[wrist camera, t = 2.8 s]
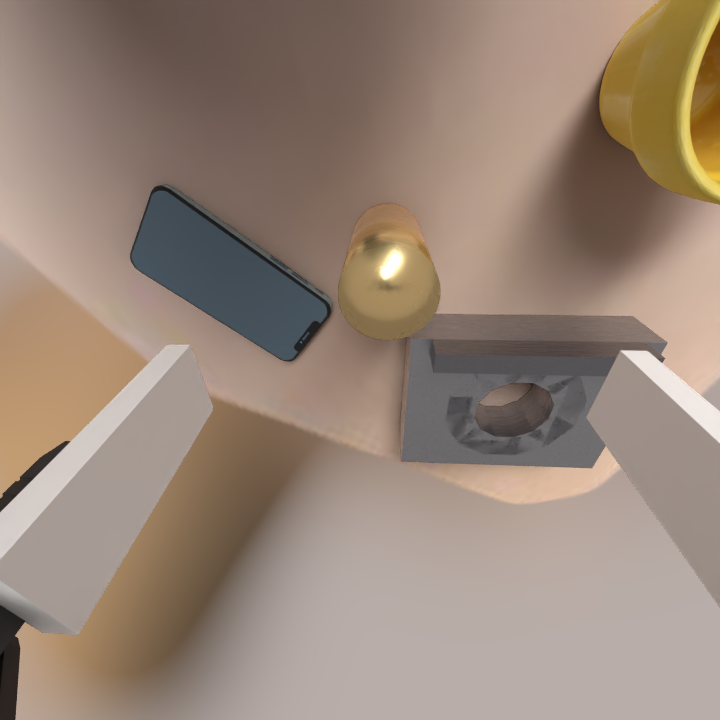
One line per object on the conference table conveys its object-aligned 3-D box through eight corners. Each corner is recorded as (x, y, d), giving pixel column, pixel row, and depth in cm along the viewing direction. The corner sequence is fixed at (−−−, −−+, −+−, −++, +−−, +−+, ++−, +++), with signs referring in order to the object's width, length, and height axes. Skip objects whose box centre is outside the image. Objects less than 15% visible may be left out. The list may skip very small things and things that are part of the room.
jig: (399, 430, 36) (402, 479, 31) (408, 313, 28) (413, 353, 23) (572, 436, 35) (603, 486, 30) (632, 316, 27) (689, 358, 22)
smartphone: (153, 177, 22) (336, 308, 27) (167, 175, 24) (338, 299, 28) (123, 265, 26) (288, 367, 30) (137, 258, 27) (293, 357, 32)
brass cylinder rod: (353, 272, 26) (340, 339, 18) (351, 203, 23) (335, 245, 15) (417, 273, 26) (434, 340, 18) (424, 202, 23) (446, 244, 15)
